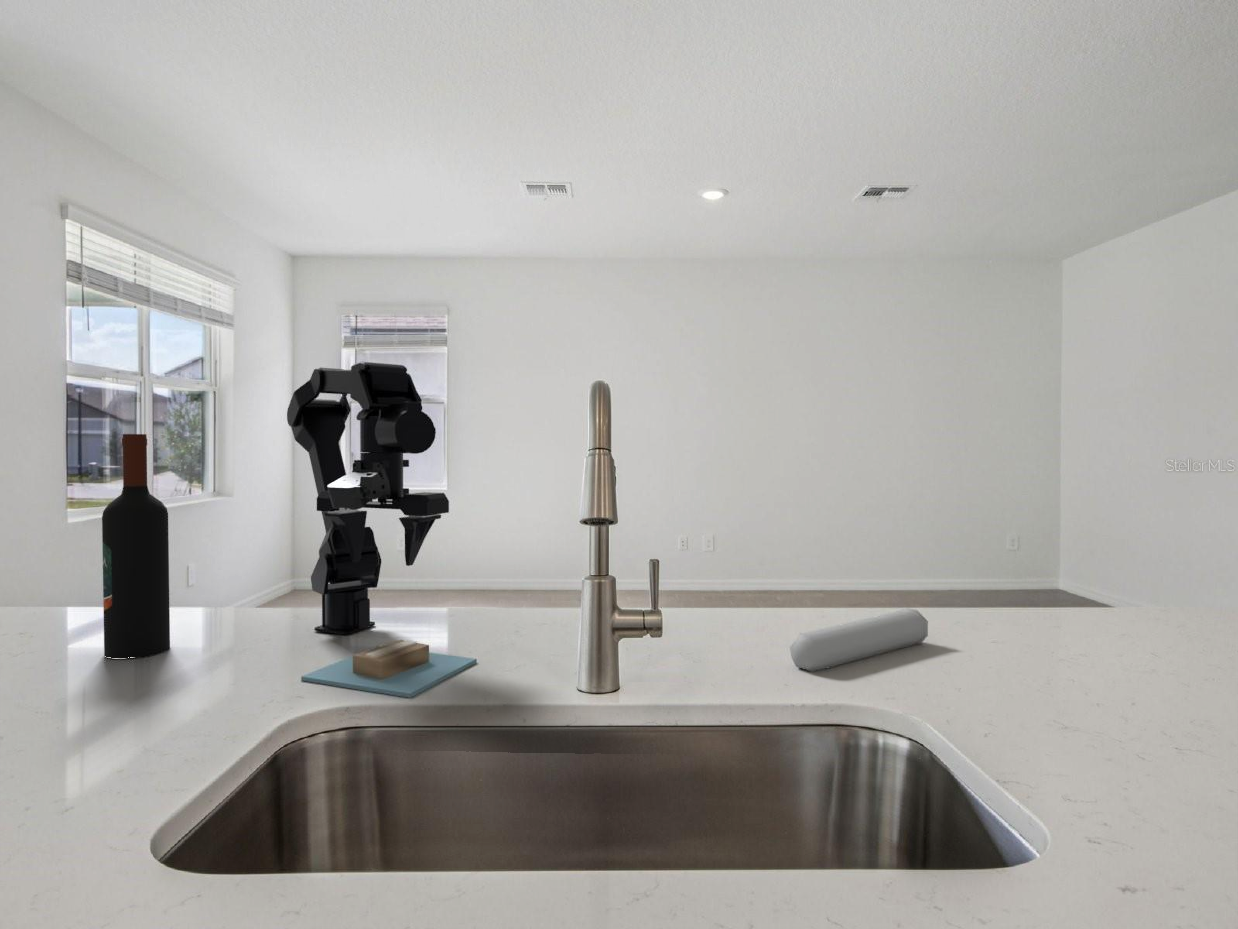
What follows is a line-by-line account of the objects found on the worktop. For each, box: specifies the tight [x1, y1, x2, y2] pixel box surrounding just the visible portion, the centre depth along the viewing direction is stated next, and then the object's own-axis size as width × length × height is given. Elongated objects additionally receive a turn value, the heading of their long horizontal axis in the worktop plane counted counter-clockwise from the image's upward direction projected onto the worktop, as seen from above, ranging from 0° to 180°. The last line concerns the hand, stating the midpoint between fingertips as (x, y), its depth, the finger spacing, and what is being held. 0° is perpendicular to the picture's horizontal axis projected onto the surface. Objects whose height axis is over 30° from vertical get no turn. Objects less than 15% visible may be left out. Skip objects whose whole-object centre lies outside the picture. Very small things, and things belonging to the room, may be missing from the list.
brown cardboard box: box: [352, 639, 430, 680], centre depth 90 cm, size 8×5×2 cm, turn 151°
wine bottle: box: [101, 433, 171, 658], centre depth 98 cm, size 8×8×30 cm
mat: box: [300, 645, 477, 699], centre depth 90 cm, size 16×14×1 cm
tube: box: [789, 607, 929, 672], centre depth 99 cm, size 5×5×25 cm
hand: (382, 563), depth 100 cm, fingers open, 9 cm apart
